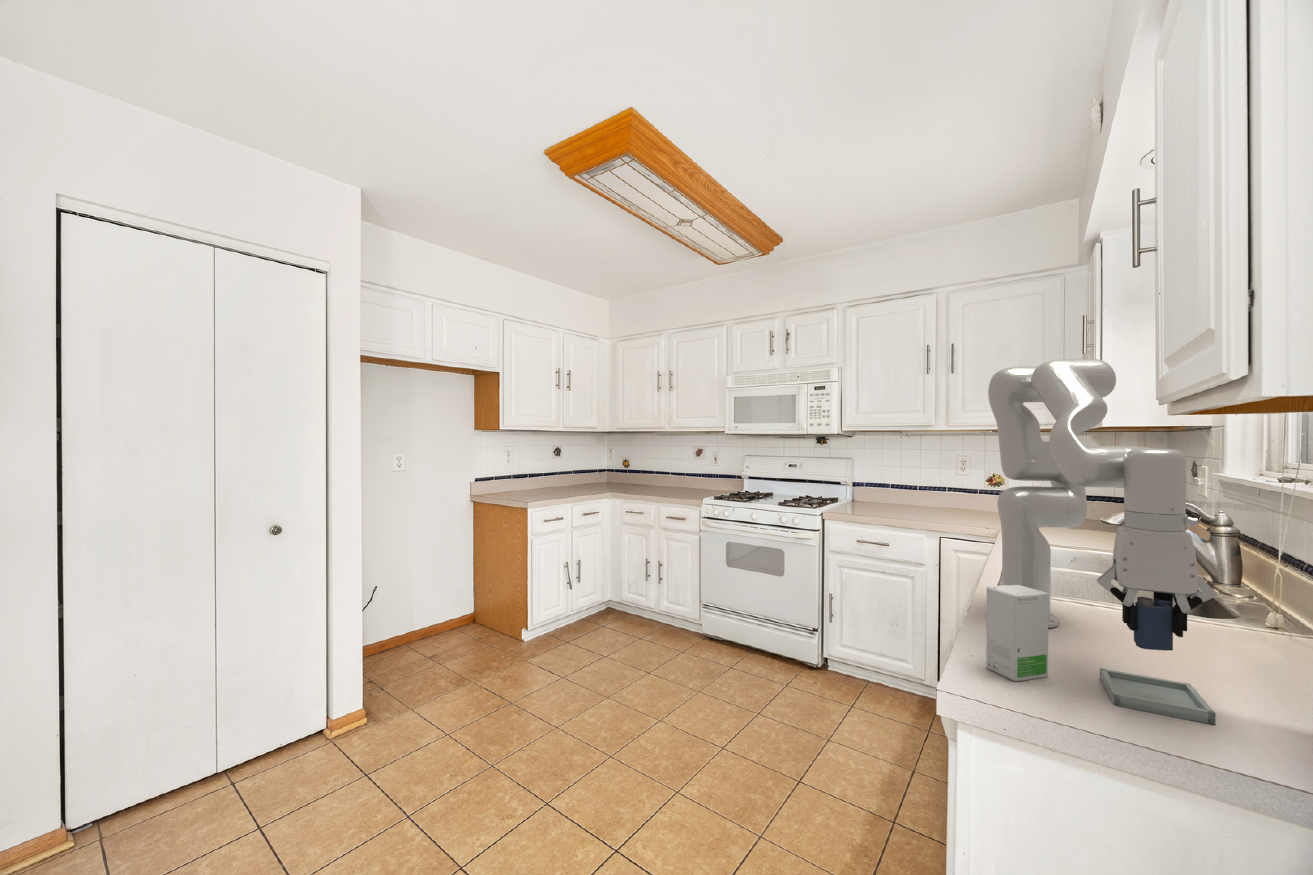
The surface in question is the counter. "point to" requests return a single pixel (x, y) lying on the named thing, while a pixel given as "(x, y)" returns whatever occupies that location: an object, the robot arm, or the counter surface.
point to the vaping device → (1155, 622)
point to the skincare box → (1017, 632)
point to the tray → (1156, 696)
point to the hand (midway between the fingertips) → (1153, 630)
